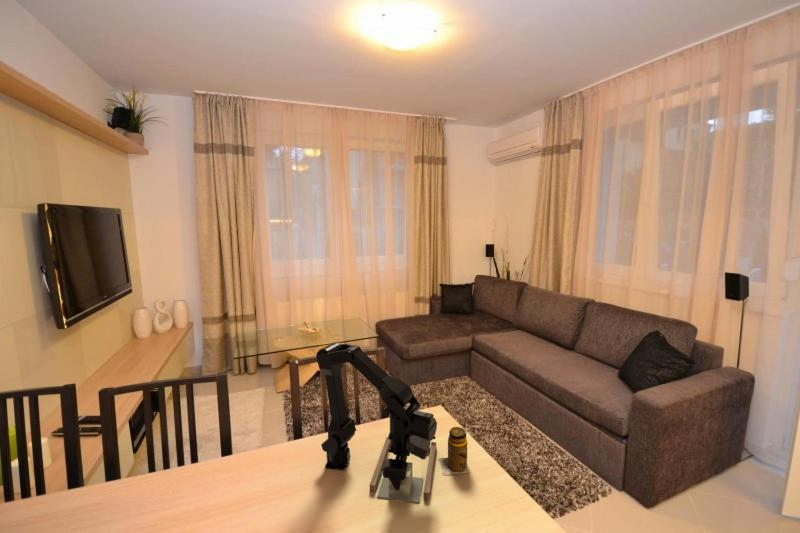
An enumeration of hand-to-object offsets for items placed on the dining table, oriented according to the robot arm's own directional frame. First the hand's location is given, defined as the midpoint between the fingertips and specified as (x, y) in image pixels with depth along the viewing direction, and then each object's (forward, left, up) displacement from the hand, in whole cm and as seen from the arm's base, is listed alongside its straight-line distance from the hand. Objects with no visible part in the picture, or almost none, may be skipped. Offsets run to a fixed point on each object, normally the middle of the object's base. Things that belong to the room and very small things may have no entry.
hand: (400, 477), depth 104 cm
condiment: (+15, +12, -4) cm, 20 cm away
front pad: (0, 0, -4) cm, 4 cm away
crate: (0, 0, -3) cm, 3 cm away
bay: (0, +8, -4) cm, 9 cm away
